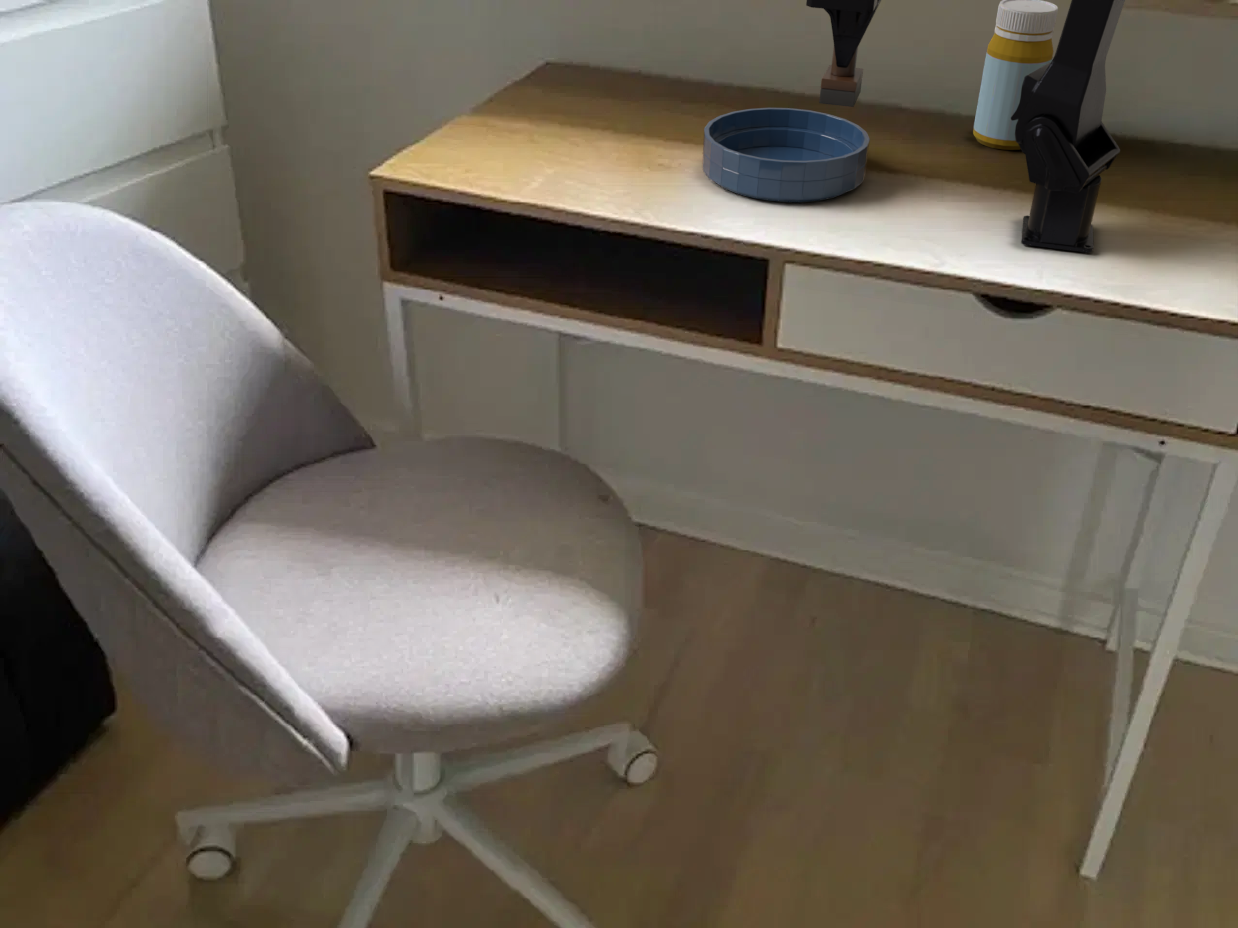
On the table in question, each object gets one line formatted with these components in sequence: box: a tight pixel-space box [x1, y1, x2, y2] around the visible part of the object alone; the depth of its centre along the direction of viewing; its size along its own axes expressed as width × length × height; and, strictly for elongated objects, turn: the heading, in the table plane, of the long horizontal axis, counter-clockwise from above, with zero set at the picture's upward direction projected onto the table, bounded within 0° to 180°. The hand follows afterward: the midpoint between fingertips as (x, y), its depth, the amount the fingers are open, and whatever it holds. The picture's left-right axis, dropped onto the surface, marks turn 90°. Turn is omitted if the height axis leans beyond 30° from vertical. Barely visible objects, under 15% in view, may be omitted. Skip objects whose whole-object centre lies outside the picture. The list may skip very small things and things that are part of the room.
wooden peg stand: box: [818, 46, 864, 108], centre depth 129 cm, size 5×4×10 cm
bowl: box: [701, 107, 871, 203], centre depth 136 cm, size 17×17×4 cm
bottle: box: [972, 0, 1059, 151], centre depth 144 cm, size 7×7×15 cm
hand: (844, 63), depth 130 cm, fingers closed on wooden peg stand, 2 cm apart
